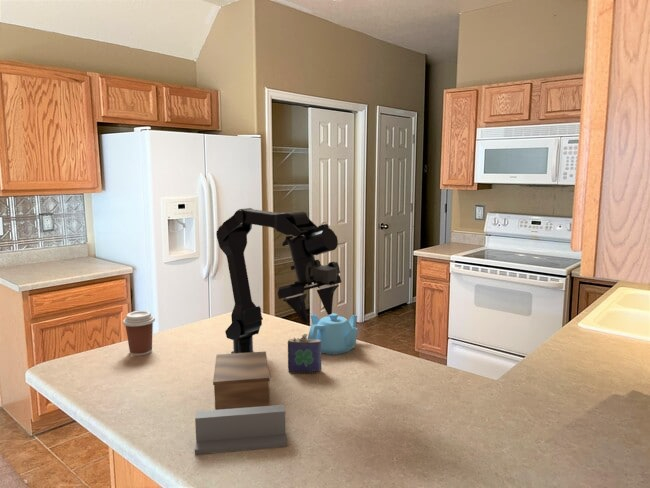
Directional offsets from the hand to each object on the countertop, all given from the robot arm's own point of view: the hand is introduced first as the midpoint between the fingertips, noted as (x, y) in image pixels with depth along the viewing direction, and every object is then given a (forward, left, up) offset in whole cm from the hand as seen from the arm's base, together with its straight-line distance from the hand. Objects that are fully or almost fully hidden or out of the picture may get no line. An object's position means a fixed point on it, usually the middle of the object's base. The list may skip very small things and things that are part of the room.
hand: (318, 318), depth 128 cm
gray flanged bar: (+22, -24, -17) cm, 37 cm away
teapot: (-23, +12, -18) cm, 32 cm away
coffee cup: (-39, -45, -18) cm, 62 cm away
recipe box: (+4, -21, -18) cm, 27 cm away
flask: (-8, -2, -18) cm, 19 cm away
